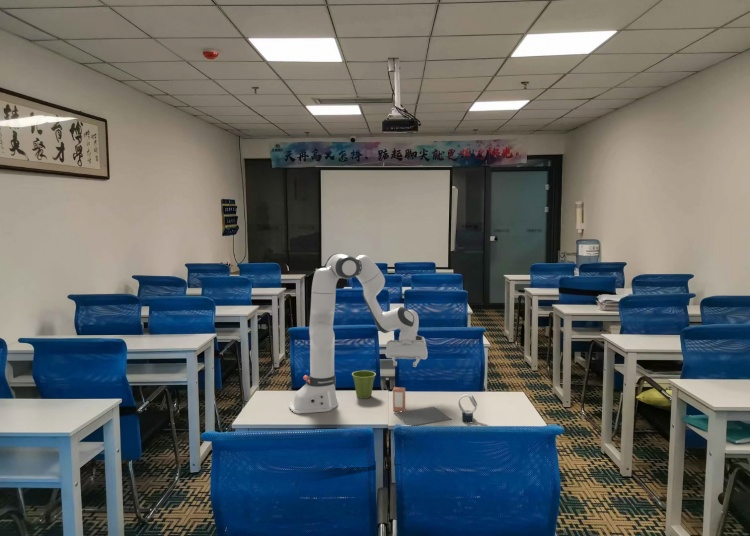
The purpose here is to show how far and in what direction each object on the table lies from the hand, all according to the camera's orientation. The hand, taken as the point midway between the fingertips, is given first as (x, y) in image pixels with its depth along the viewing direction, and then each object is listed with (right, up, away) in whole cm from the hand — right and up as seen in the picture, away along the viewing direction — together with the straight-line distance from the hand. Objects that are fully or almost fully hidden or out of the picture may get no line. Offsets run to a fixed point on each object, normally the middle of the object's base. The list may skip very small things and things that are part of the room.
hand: (404, 365), depth 236 cm
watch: (+25, -19, -23) cm, 39 cm away
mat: (+7, -18, -19) cm, 27 cm away
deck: (-3, -18, -11) cm, 21 cm away
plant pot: (-19, -17, +9) cm, 27 cm away
